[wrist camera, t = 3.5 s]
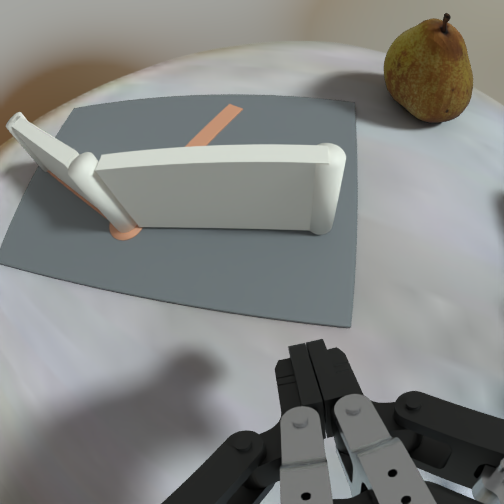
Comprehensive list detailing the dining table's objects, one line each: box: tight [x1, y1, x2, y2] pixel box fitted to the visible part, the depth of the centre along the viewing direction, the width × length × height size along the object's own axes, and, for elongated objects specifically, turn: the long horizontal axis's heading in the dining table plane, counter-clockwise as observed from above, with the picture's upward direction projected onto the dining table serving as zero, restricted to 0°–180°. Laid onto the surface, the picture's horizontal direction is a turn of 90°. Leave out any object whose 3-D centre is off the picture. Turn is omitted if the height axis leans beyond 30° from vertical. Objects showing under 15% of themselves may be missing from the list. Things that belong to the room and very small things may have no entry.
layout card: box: [0, 95, 358, 328], centre depth 26 cm, size 32×20×1 cm, turn 80°
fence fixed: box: [6, 112, 137, 233], centre depth 23 cm, size 16×2×8 cm, turn 55°
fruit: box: [384, 13, 473, 123], centre depth 22 cm, size 9×9×12 cm
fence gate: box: [95, 143, 346, 235], centre depth 19 cm, size 14×2×7 cm, turn 85°
